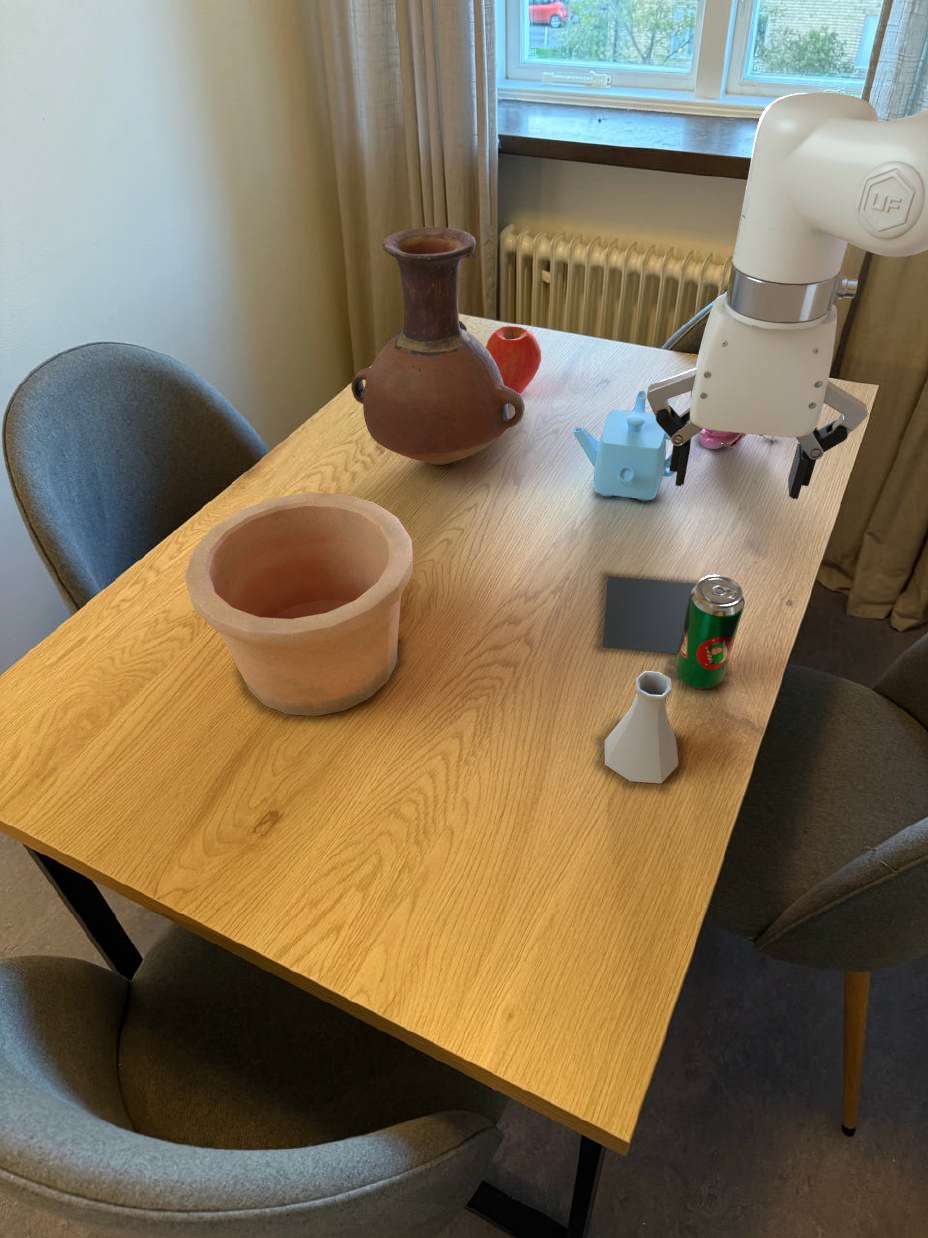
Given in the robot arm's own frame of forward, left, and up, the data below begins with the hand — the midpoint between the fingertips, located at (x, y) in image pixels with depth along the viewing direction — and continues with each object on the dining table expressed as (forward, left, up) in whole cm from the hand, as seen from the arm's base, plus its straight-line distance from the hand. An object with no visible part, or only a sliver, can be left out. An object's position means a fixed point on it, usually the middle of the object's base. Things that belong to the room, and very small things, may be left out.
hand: (735, 483), depth 74 cm
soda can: (0, +2, -22) cm, 22 cm away
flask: (+6, +14, -22) cm, 27 cm away
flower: (-6, -45, -22) cm, 51 cm away
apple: (+27, -55, -22) cm, 65 cm away
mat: (+4, -6, -22) cm, 23 cm away
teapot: (+9, -32, -22) cm, 40 cm away
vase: (+35, -35, -22) cm, 54 cm away
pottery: (+40, +6, -22) cm, 46 cm away
